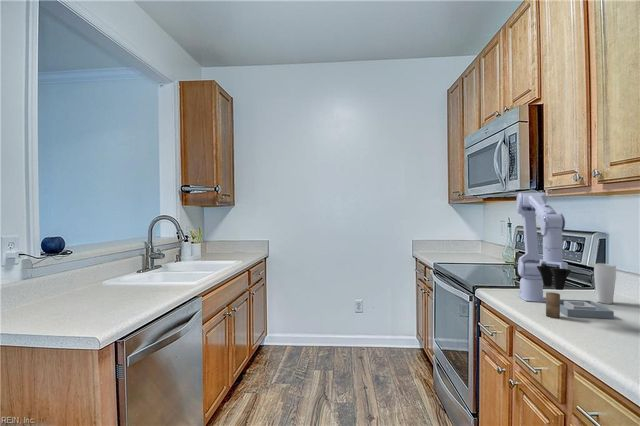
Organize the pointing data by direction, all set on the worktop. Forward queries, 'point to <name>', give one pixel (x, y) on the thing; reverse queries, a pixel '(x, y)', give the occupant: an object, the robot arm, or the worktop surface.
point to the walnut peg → (552, 305)
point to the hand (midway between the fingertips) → (553, 287)
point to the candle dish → (584, 309)
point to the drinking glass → (604, 282)
